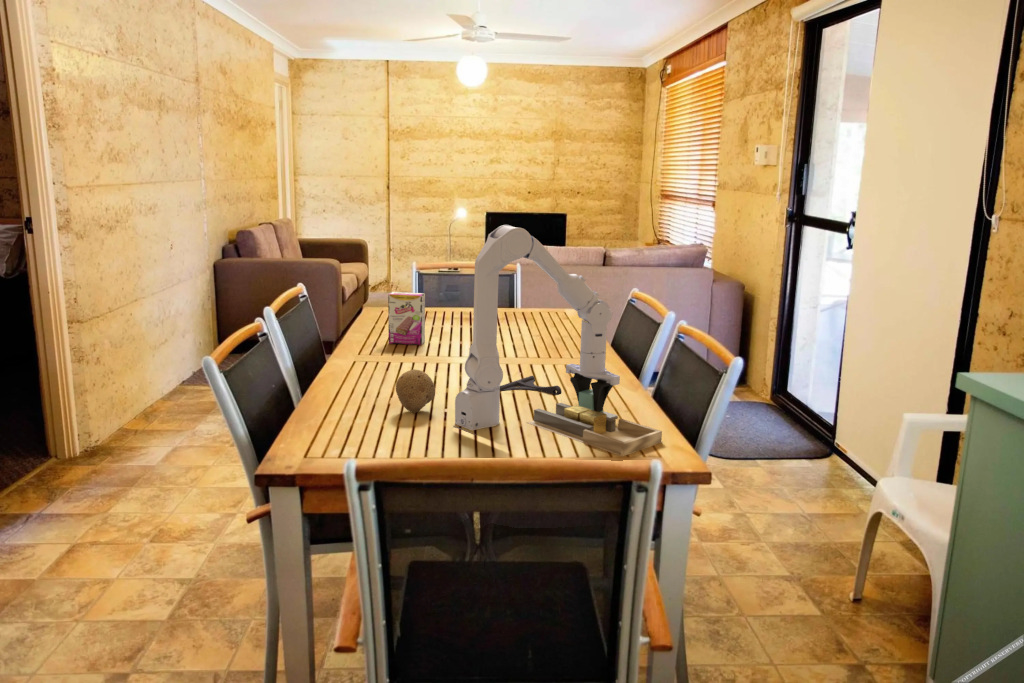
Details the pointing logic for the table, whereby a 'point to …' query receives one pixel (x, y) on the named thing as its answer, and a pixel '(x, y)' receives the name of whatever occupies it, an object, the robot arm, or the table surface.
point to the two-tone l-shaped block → (591, 402)
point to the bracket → (530, 386)
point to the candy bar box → (406, 318)
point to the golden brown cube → (574, 412)
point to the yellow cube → (594, 420)
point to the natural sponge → (415, 390)
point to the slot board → (613, 440)
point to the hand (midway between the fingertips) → (590, 409)
